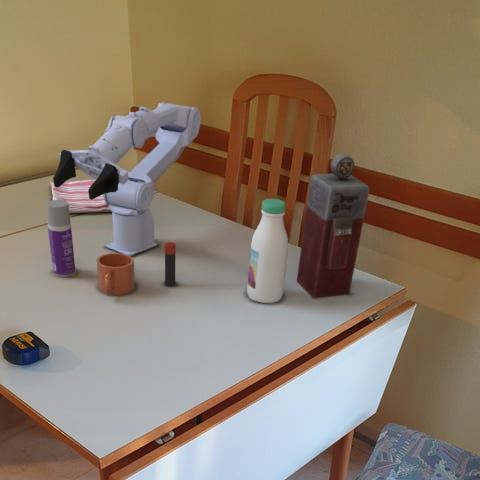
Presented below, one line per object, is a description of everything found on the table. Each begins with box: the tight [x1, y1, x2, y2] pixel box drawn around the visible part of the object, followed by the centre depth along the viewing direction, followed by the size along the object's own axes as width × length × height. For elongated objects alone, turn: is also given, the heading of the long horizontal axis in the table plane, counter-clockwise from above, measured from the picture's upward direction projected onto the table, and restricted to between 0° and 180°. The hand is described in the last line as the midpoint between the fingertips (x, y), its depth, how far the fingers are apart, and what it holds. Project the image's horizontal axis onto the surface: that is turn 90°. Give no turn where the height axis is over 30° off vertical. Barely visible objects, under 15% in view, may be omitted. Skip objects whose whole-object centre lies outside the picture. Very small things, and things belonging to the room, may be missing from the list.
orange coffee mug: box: [96, 252, 136, 297], centre depth 129 cm, size 10×7×6 cm
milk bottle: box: [246, 198, 289, 304], centre depth 128 cm, size 8×8×20 cm
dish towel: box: [49, 179, 112, 214], centre depth 172 cm, size 17×23×4 cm
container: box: [45, 199, 76, 278], centre depth 132 cm, size 5×5×15 cm
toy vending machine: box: [296, 153, 370, 299], centre depth 130 cm, size 9×11×28 cm
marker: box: [164, 241, 177, 287], centre depth 133 cm, size 2×2×9 cm
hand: (72, 188), depth 122 cm, fingers open, 7 cm apart
